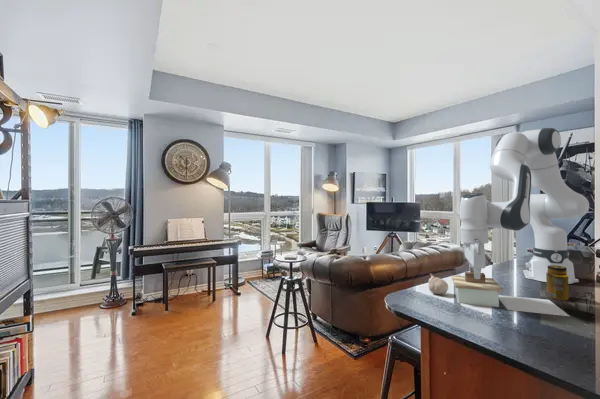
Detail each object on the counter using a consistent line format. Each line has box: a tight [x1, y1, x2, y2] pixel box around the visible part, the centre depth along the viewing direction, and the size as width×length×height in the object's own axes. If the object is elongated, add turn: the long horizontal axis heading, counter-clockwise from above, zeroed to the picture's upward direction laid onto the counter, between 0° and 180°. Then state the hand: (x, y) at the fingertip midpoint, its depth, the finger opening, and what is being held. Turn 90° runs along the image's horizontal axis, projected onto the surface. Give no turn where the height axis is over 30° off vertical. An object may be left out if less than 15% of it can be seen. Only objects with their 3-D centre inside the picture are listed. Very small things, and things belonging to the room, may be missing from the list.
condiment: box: [545, 265, 570, 301], centre depth 105 cm, size 7×8×12 cm
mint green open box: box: [454, 287, 500, 308], centre depth 105 cm, size 12×12×6 cm
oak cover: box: [451, 271, 504, 293], centre depth 105 cm, size 14×14×4 cm
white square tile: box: [499, 294, 570, 317], centre depth 99 cm, size 16×16×1 cm
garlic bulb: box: [427, 272, 449, 295], centre depth 114 cm, size 7×6×8 cm
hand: (474, 275), depth 105 cm, fingers open, 8 cm apart
